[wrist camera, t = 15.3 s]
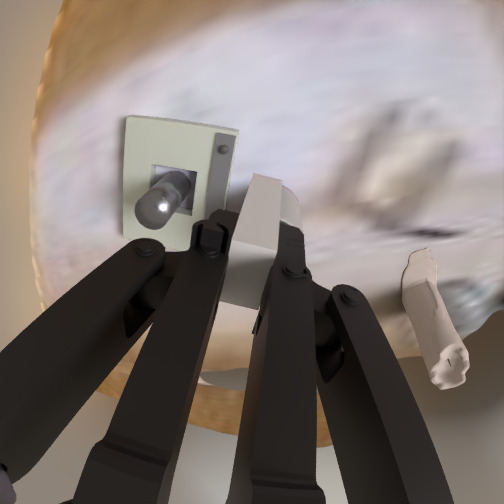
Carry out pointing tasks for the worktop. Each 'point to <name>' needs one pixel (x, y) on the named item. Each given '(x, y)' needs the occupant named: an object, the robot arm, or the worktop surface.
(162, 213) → the grey metal cylinder
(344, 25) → the worktop surface
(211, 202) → the plate
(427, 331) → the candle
